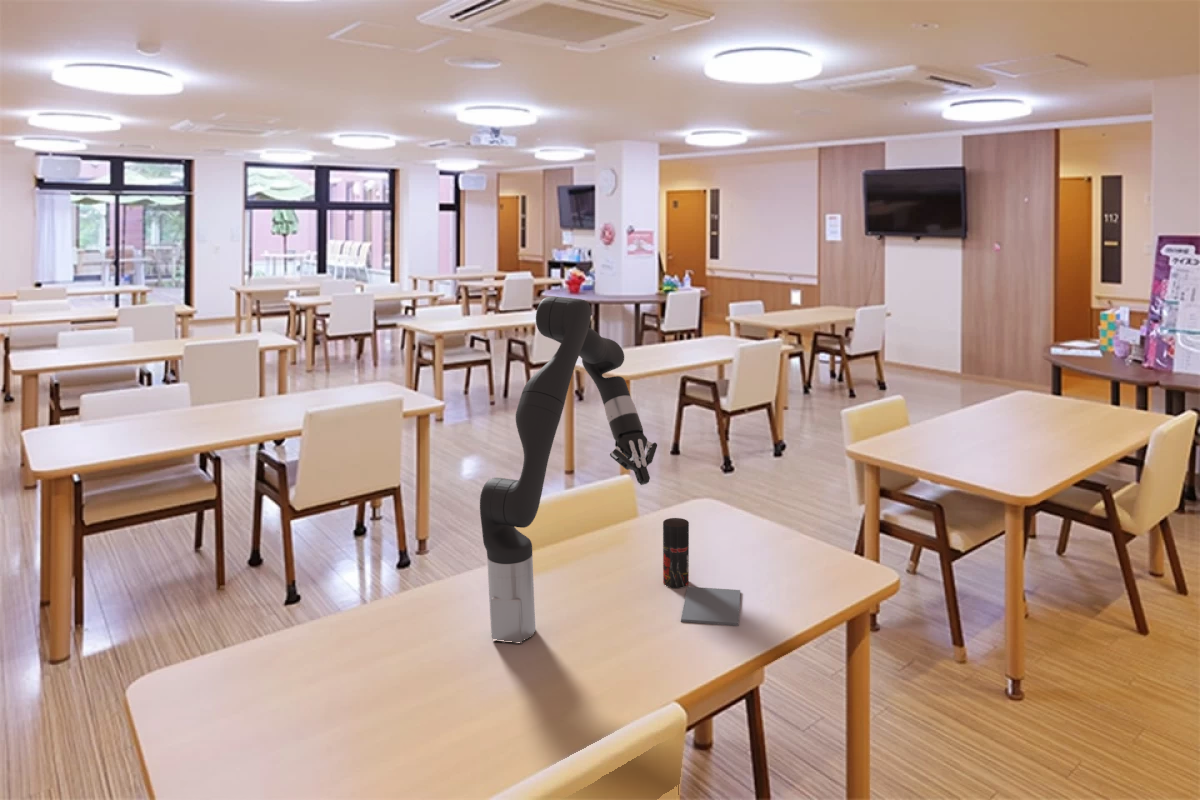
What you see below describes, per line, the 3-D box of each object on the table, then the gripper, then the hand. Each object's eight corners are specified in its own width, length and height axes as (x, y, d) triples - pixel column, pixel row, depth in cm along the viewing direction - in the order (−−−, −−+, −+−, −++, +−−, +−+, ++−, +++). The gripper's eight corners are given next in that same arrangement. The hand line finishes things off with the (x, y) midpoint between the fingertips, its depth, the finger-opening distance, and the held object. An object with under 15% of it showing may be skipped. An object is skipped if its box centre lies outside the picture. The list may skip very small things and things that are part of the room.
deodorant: (689, 588, 193) (689, 527, 190) (663, 588, 193) (663, 527, 190) (687, 577, 199) (687, 517, 196) (662, 577, 199) (662, 518, 196)
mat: (738, 625, 175) (738, 623, 175) (681, 621, 177) (681, 619, 177) (740, 592, 190) (740, 589, 190) (687, 589, 193) (687, 586, 193)
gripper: (606, 415, 200) (628, 482, 194) (652, 408, 206) (675, 473, 201) (593, 427, 206) (615, 493, 200) (639, 420, 212) (660, 484, 207)
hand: (645, 483), depth 201 cm, fingers closed
